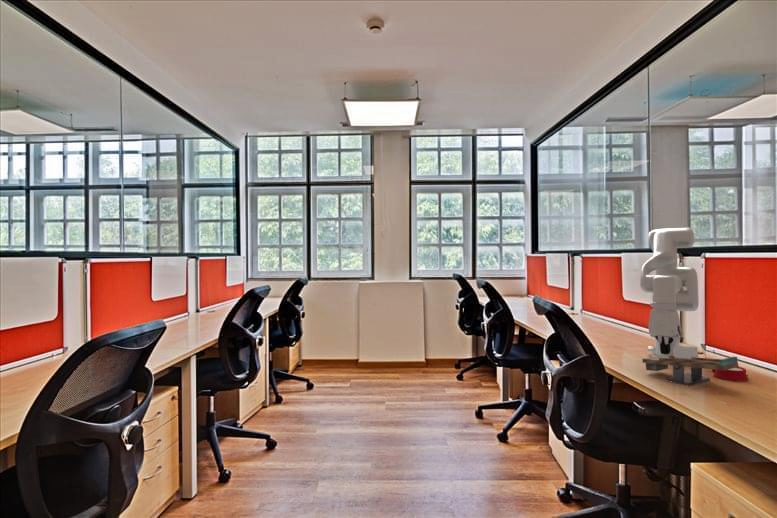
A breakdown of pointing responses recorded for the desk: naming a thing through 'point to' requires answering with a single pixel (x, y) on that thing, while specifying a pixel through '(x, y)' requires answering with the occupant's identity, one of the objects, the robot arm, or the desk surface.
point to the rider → (686, 353)
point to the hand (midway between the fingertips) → (665, 353)
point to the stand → (687, 376)
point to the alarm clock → (731, 374)
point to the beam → (689, 363)
